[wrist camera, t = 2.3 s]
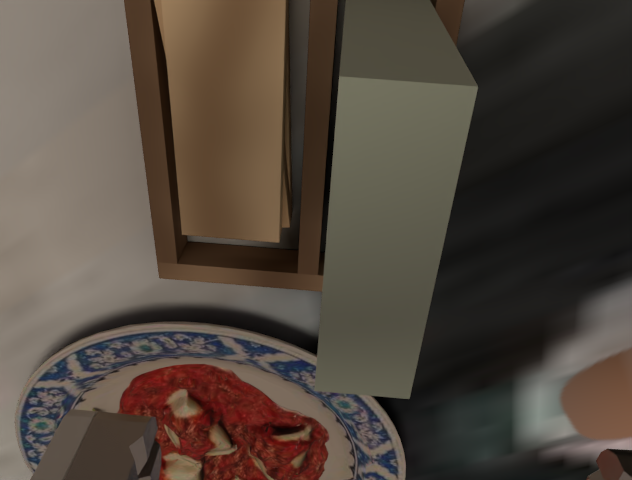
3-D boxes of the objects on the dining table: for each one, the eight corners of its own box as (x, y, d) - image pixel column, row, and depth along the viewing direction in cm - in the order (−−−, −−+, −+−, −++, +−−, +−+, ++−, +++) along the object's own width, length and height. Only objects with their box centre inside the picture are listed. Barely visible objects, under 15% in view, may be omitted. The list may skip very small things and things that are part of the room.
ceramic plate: (481, 400, 35) (491, 440, 33) (299, 571, 48) (297, 609, 46) (83, 229, 30) (58, 262, 27) (1, 475, 43) (-21, 512, 40)
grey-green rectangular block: (423, -12, 22) (478, 86, 12) (390, 207, 28) (409, 399, 18) (347, -18, 22) (339, 76, 12) (329, 202, 28) (314, 390, 18)
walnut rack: (478, -132, 20) (489, -132, 18) (405, 274, 30) (408, 298, 28) (125, -155, 20) (104, -157, 18) (170, 255, 30) (159, 278, 28)
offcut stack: (295, -52, 22) (286, -39, 19) (298, 208, 28) (292, 248, 25) (165, -54, 22) (135, -41, 19) (197, 204, 28) (179, 244, 25)
